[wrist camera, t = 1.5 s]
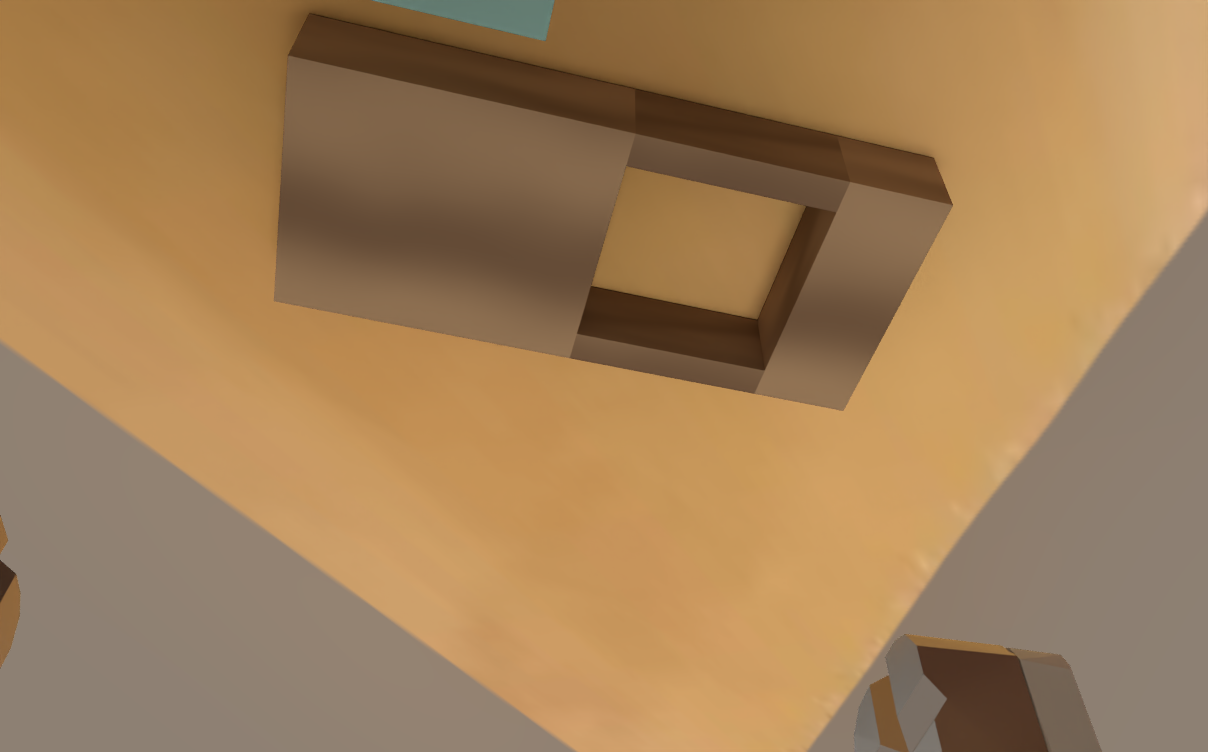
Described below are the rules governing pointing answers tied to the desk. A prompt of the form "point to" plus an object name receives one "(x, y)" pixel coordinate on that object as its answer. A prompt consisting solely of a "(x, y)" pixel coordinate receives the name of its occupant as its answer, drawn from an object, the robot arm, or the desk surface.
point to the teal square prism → (490, 13)
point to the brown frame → (576, 213)
